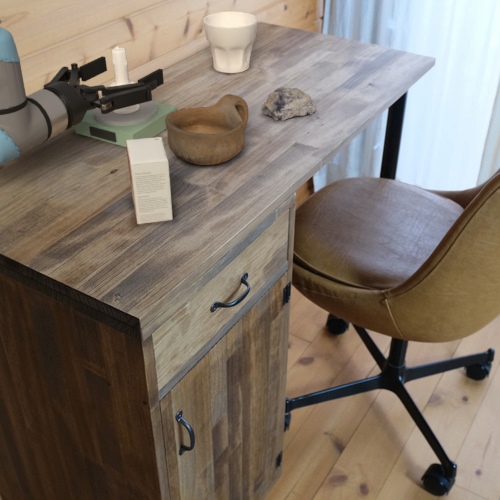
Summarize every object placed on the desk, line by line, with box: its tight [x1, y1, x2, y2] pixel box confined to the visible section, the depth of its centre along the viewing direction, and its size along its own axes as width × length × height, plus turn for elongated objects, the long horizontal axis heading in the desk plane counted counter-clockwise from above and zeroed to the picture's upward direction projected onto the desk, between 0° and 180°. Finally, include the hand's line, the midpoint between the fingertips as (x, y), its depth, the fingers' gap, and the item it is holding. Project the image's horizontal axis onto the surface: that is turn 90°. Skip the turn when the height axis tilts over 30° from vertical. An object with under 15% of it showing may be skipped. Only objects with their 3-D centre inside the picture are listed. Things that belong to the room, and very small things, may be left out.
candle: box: [109, 45, 140, 114], centre depth 120 cm, size 5×5×12 cm
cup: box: [202, 10, 259, 74], centre depth 149 cm, size 12×12×11 cm
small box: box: [125, 136, 174, 225], centre depth 98 cm, size 8×6×10 cm
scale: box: [74, 100, 178, 148], centre depth 124 cm, size 14×14×4 cm
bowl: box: [165, 93, 249, 166], centre depth 115 cm, size 18×14×10 cm
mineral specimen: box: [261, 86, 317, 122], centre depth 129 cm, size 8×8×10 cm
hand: (132, 69), depth 122 cm, fingers open, 13 cm apart
